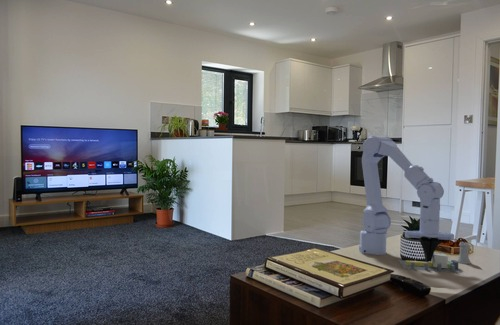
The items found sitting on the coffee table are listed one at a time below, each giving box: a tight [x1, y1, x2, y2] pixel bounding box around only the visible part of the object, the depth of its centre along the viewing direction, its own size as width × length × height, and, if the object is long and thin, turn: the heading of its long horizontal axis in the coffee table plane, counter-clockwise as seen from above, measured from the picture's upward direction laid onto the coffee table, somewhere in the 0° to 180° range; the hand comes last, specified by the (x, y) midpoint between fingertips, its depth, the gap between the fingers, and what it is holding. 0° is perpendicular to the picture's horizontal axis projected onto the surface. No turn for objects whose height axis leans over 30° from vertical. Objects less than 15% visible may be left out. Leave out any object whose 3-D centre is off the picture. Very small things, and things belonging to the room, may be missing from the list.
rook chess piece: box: [456, 241, 472, 265], centre depth 127 cm, size 4×4×8 cm
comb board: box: [397, 259, 463, 274], centre depth 121 cm, size 17×10×3 cm, turn 80°
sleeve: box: [431, 252, 449, 268], centre depth 121 cm, size 4×4×4 cm
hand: (428, 260), depth 121 cm, fingers closed
